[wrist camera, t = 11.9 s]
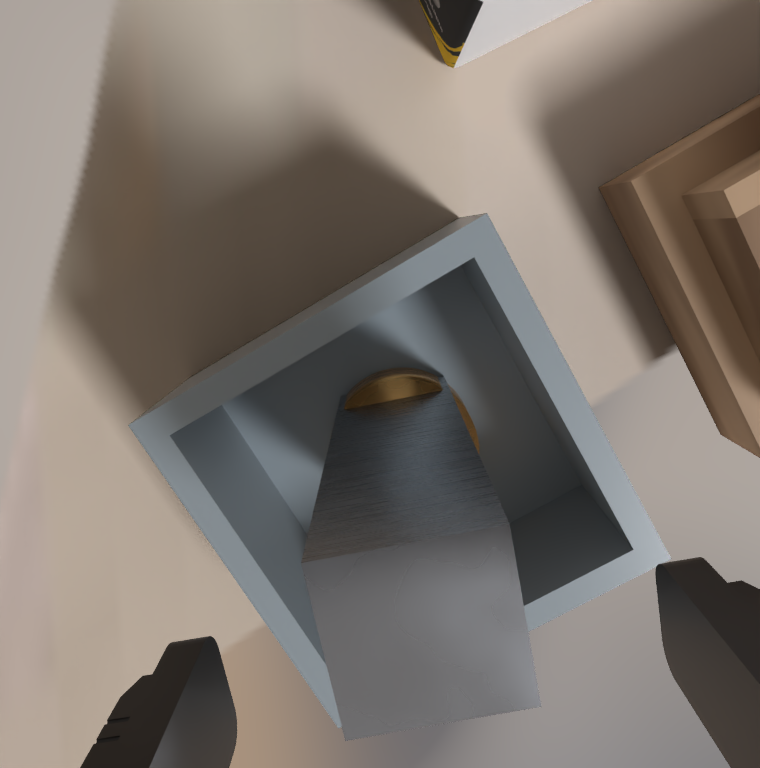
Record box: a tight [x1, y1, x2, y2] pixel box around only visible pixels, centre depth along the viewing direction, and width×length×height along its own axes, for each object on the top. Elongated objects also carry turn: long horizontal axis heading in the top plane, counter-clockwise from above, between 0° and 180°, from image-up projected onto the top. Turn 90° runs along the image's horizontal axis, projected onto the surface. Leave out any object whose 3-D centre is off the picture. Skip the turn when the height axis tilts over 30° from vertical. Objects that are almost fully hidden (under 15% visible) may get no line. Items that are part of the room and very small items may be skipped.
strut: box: [301, 367, 541, 741], centre depth 18 cm, size 5×5×12 cm
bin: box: [128, 213, 671, 728], centre depth 22 cm, size 11×11×6 cm
